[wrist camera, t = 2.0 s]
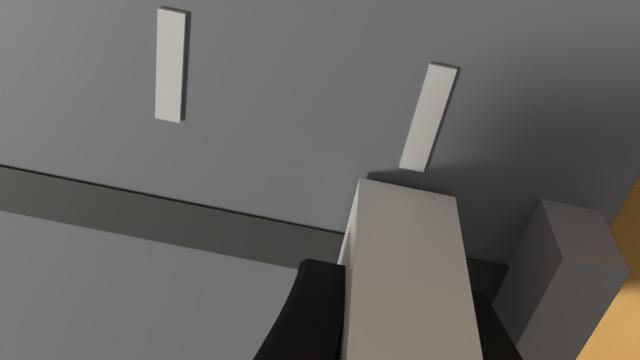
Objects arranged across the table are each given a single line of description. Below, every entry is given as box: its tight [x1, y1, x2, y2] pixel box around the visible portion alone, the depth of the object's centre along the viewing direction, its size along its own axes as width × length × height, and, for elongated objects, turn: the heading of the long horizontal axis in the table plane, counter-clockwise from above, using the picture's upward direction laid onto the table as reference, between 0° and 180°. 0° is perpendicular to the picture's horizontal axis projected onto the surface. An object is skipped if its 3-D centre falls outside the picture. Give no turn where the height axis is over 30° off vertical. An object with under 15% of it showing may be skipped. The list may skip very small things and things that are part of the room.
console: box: [0, 0, 640, 360], centre depth 11 cm, size 16×16×4 cm
